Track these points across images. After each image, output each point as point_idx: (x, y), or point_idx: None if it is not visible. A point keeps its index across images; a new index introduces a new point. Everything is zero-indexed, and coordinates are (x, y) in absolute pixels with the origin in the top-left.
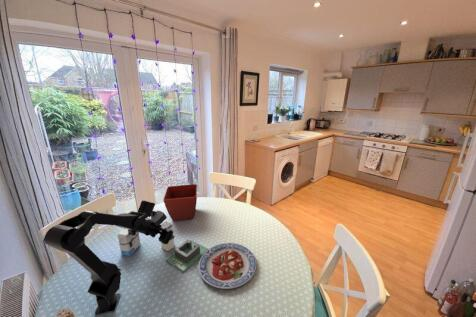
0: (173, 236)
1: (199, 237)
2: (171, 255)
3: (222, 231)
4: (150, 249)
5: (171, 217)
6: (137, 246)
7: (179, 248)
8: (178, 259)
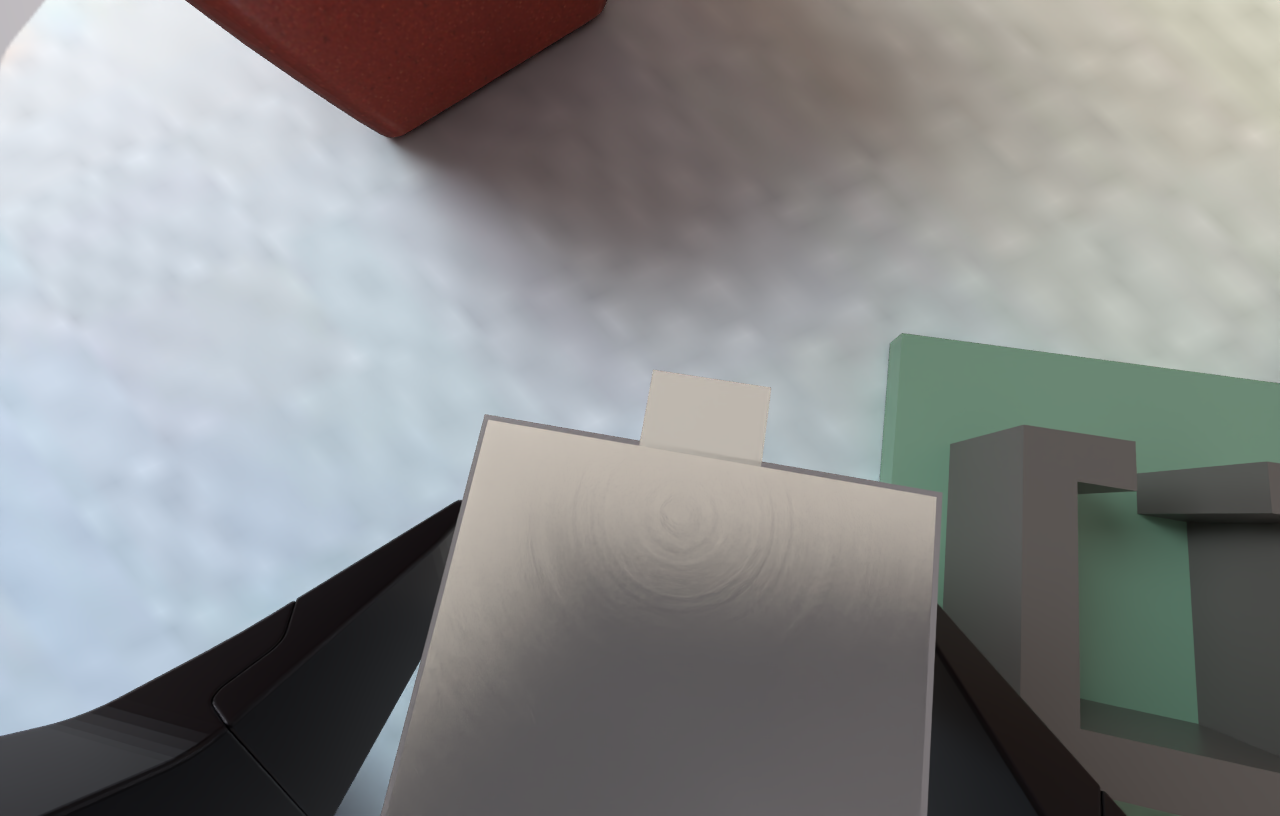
0: (970, 662)
1: (933, 238)
2: None
3: (1125, 31)
4: None
5: (346, 100)
6: None
7: (1070, 688)
8: None
